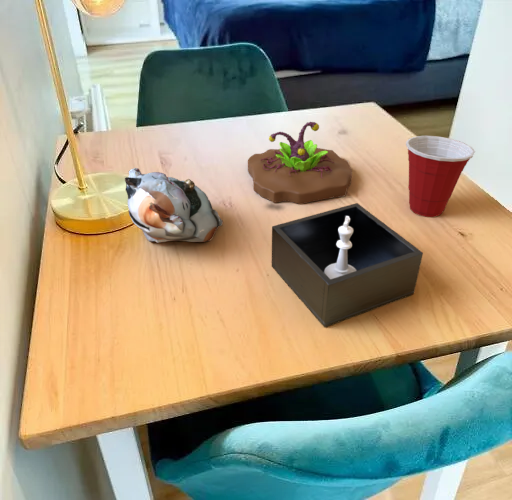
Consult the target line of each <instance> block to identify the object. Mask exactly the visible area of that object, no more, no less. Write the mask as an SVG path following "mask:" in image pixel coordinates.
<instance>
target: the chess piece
mask: <svg viewBox="0 0 512 500" xmlns="http://www.w3.org/2000/svg"><path fill="white" fill-rule="evenodd" d="M349 222H350V218H349V216H346V217H345V222H344V224H343V226H341V227H339V229H338V232H339V235H340V239H341V240H338V241H337V243H336V245H337V247H338V248H340V251H339V256H338V259H337V263H333V264H330V265H328V266H327V267H326V268H325V270H324V273H325V274H326V275H327V276H328V277H329V278H330V279H333V278H336V277H339V276H342V275H345V274H348V273H351V272H354V271H357V270H356V269H355V268H354V267H353V266H351V265H349V264H348V258H347V249H350V248H351V247H352V243H351V242H350V241H349V239H350V237H351V235H352V234H353V228H352V227H350V226H348V225H349Z"/></svg>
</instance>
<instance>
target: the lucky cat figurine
mask: <svg viewBox="0 0 512 500" xmlns="http://www.w3.org/2000/svg"><path fill="white" fill-rule="evenodd" d="M124 182H125V192H126V195H127V207H128V210H127V211H128V214H129V215H128V216H129V217H130V219H131V222H132V223H133V224H134V225H135V226H136V227H137V228H139V229H140V230H141V231H142V233H143V234H144V238H146V240H147V241H148V242H149V243H151V242H156V243H158V244H160V243H166V242H177V241H179V242H192V243H203V242H204V243H208V242H210V241H211V240H212V239H213V237H214V236H215V234H216V231H218V228H220V227H221V226H223V220H222V218H221V216H220V215H219V212H218V211H217V210H216V209H214V208H213V206H212V203H211V200H210V199H209V196H208V195H207V194H206V192H205V191H203V190H202V189H201V188H200V187H199V186H198V185H196V184H195V182H194V181H193V180H191V179H190V178H187V179H186V180H180V179H178V178H176V177H173V176H167V174H166V173H163V172H159V171H154V172H153V171H152V172H148V173H142V172H141V170H140V168H139V167H134V168H131V169H130V170H129V171H128V177H127V176H126V177H124Z"/></svg>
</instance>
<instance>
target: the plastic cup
mask: <svg viewBox="0 0 512 500" xmlns="http://www.w3.org/2000/svg"><path fill="white" fill-rule="evenodd" d="M405 146H406V148H407V156H408V158H407V160H408V204H409V209H410V210H411V212H413V213H414V214H416V215H418V216H422V217H424V218H425V217H427V218H430V217H431V218H434V217H439V216H440V215H442V214H443V212H444V211H445V209H446V207H447V204H448V202H449V200H450V199H451V197H452V194H453V193H454V190H455V188H456V186H457V183H458V182H459V179H460V177H461V175H462V172H463V171H464V170H465V167H466V166H467V164H468V162H469V161H470V160H471V159H472V158H473V157H474V155H475V153H476V151H475V149H474V148H473V146H471V145H469V144H467V143H466V142H463V141H460V140H457V139H455V138H449V137H443V136H436V135H417V136H413V137H409V138H408V139H407V140H406V141H405Z"/></svg>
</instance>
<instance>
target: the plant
mask: <svg viewBox="0 0 512 500" xmlns="http://www.w3.org/2000/svg"><path fill="white" fill-rule="evenodd" d="M307 127H310V129H311V130H312V131H313V132H317V131H318V130H319V129H320V125H319V123H317V122H316V121H309V122H306V123H305V124H304V125H303V126H302V128H301V129H300V131H299V133H298V138H297V140H296V139H294V138H293V137H292V135H290V134H288V133H286V132H283V131H277V132H275V133H272V134H270V135H268V140H269V142H271V143H273V142H275V141H276V139H277V136H283V138H284V137H285V138H286V140H287V141H288V142H289V143H286V142H283V141H280V142H279V144H278V145H279V147H280V148H278V149H277V148H275V149H274V148H269V149H267V150H266V151H264V152H262V153H254V154H252V155H251V156H250V157H249V158H248V159H247V173H248V174H249V176H250V177H251V178H252V181H253V182H252V183H253V185H252V187H253V191H254V192H255V193H257V194H258V195H259V196H260V197H261V198H264V199H266V200H269V201H270V202H271V203H274V204H275V203H281V202H291V203H295V204H308V203H313V202H319V201H321V200H329V199H334V198H339V197H340V198H341V197H345V196H346V195H347V191H348V188H349V187H350V186H351V184H352V178H353V177H352V176H353V169H352V167H351V164H350V163H349V160H347V159H345V158H342V157H340V156H339V155H338V154H337V153H336V152H335V151H334V150H333V149H325V148H321V147H318V144H317V143H314V141H313V140H311V139H309V140H307V141H304V140H305V139H304V137H305V132H306V130H307Z"/></svg>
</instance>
